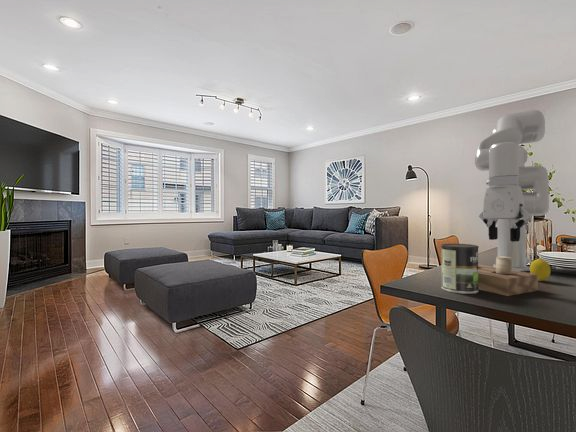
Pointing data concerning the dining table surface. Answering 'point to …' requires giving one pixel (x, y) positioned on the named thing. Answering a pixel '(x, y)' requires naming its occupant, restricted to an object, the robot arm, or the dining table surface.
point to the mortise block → (506, 281)
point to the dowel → (504, 265)
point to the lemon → (540, 269)
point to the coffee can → (460, 268)
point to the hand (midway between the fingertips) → (503, 239)
